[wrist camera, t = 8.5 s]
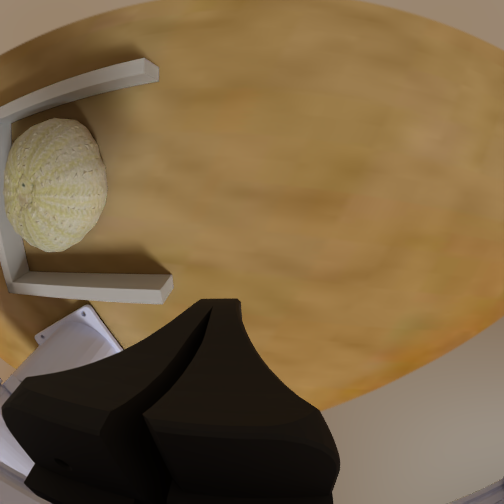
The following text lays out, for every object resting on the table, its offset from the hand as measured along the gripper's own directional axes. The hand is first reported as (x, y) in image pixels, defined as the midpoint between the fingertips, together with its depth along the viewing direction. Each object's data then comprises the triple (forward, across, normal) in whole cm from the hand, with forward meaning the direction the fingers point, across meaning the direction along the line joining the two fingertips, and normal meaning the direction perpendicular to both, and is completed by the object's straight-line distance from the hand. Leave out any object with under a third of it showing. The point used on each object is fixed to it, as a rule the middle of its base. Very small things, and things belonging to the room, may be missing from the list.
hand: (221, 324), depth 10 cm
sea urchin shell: (+10, +13, -5) cm, 17 cm away
